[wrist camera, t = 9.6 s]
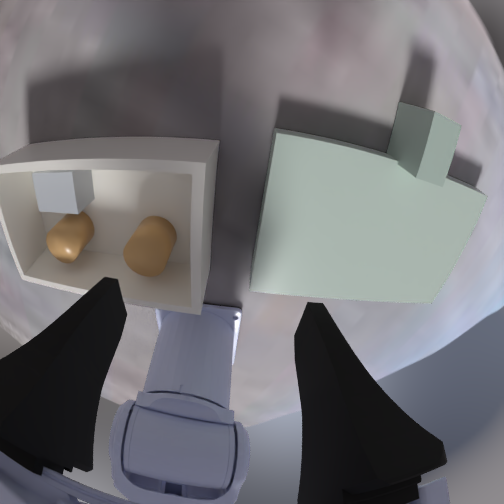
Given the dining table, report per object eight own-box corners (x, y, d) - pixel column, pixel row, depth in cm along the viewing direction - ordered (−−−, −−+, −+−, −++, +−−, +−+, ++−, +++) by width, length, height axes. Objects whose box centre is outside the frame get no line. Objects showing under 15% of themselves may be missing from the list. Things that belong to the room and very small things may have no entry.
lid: (424, 291, 23) (441, 321, 20) (249, 275, 22) (248, 315, 18) (488, 147, 14) (521, 166, 11) (283, 69, 13) (293, 64, 10)
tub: (210, 267, 21) (200, 315, 17) (50, 245, 20) (22, 279, 16) (219, 140, 16) (205, 163, 12) (29, 143, 15) (-12, 166, 11)
